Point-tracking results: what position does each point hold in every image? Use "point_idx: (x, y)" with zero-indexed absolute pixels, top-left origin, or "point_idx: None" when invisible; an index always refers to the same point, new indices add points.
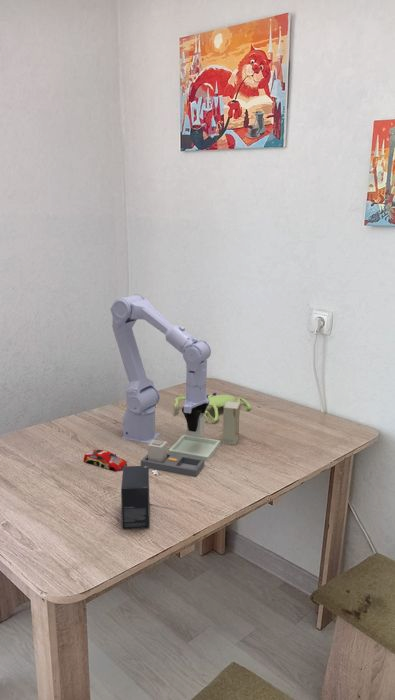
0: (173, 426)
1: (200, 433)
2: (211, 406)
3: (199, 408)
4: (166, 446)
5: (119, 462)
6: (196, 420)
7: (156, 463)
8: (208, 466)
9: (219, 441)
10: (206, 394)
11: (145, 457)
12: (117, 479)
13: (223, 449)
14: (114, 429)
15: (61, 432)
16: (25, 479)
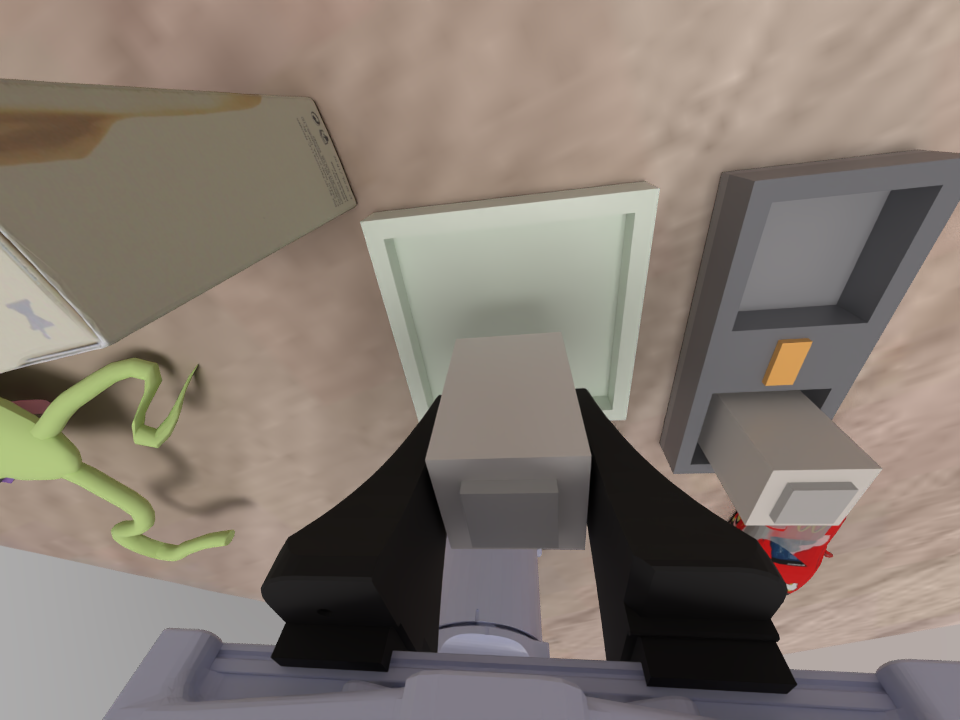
0: (334, 475)
1: (550, 348)
2: (64, 436)
3: (421, 550)
4: (771, 448)
5: None
6: (654, 469)
7: (835, 411)
8: (695, 153)
9: (376, 223)
10: (148, 690)
11: None
12: (889, 470)
13: (402, 171)
14: None
15: (561, 638)
16: (874, 618)
